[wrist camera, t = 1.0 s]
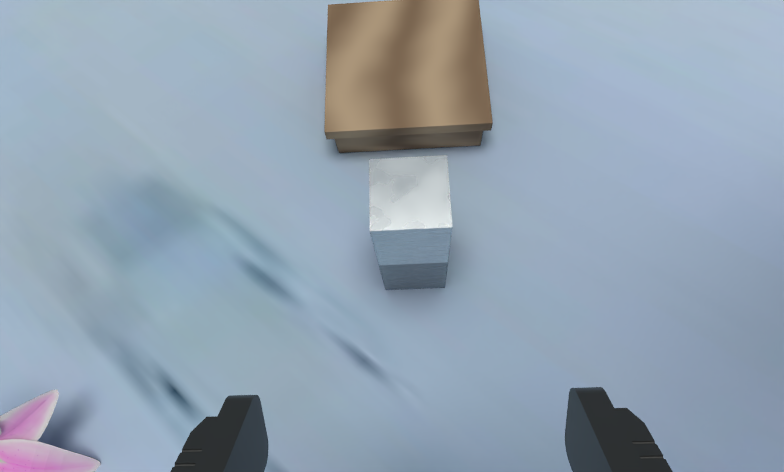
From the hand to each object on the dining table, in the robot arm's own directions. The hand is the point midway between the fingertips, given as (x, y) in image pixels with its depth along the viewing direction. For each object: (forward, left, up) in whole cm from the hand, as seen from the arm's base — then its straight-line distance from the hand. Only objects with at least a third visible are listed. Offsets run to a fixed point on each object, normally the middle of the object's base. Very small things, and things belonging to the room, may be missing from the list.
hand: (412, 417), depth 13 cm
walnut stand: (0, -28, -24) cm, 37 cm away
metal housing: (0, -12, -24) cm, 27 cm away
